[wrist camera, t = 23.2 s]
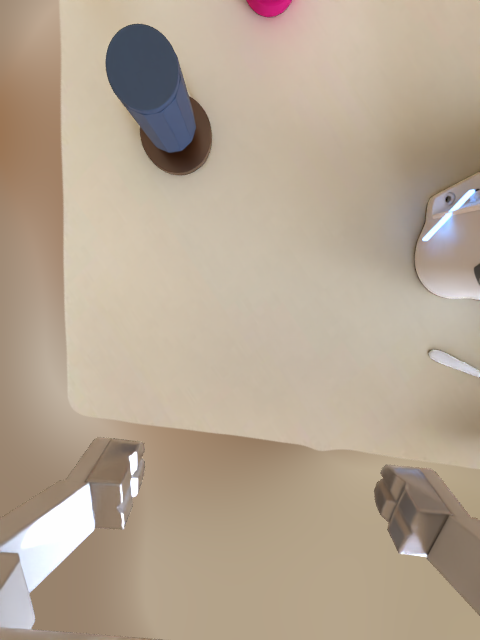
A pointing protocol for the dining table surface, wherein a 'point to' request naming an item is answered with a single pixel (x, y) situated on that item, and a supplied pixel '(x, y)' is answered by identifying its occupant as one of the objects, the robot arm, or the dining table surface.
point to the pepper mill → (269, 6)
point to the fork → (453, 362)
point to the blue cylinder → (151, 85)
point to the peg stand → (191, 154)
